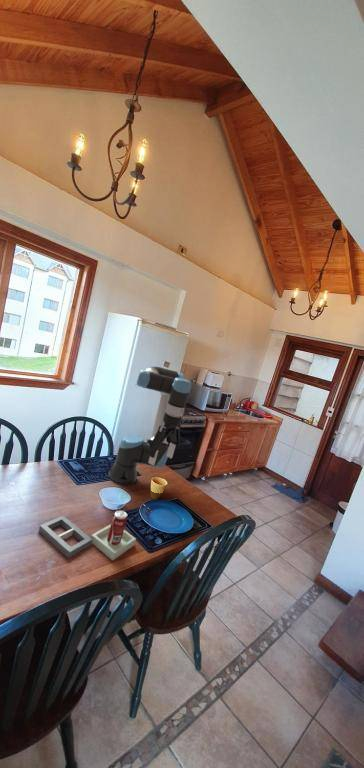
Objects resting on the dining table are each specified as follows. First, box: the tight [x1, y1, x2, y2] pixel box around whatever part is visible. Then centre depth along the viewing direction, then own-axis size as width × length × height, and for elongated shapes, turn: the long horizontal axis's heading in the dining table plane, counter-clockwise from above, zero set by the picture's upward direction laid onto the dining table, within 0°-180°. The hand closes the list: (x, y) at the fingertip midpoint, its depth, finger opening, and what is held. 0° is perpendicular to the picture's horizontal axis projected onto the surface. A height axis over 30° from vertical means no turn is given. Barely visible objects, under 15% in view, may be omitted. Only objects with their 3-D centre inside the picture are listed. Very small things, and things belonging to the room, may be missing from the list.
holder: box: [38, 515, 92, 559], centre depth 113 cm, size 17×10×2 cm, turn 59°
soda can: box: [107, 509, 128, 546], centre depth 117 cm, size 5×5×12 cm
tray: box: [90, 523, 137, 561], centre depth 117 cm, size 12×12×3 cm
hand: (160, 460), depth 133 cm, fingers open, 13 cm apart
